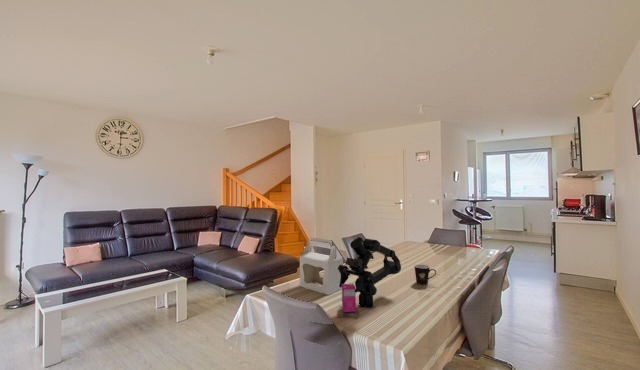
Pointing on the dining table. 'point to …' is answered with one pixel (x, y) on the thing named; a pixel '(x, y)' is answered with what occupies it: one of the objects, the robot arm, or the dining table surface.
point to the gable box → (327, 262)
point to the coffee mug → (422, 274)
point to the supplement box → (348, 298)
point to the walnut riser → (348, 315)
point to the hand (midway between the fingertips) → (347, 289)
